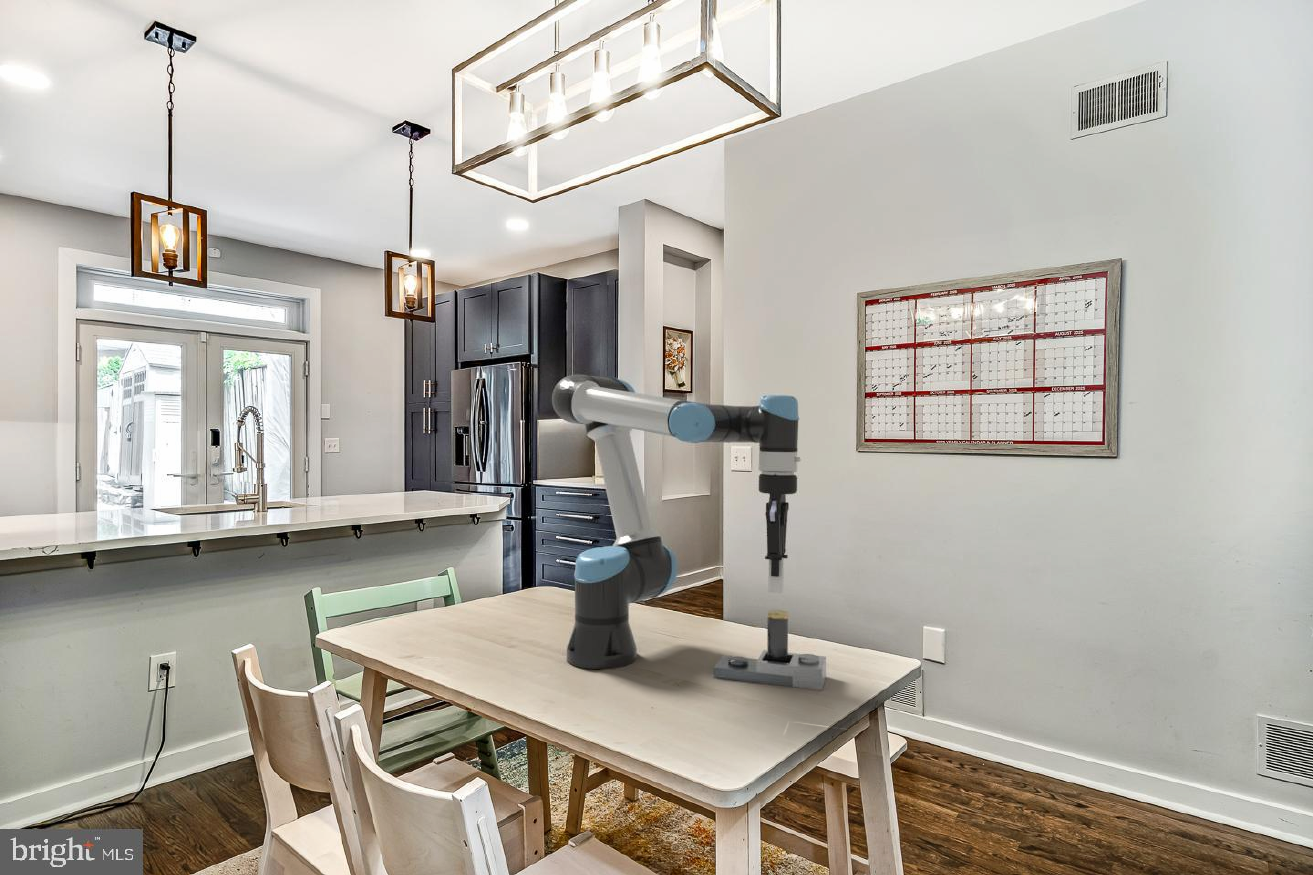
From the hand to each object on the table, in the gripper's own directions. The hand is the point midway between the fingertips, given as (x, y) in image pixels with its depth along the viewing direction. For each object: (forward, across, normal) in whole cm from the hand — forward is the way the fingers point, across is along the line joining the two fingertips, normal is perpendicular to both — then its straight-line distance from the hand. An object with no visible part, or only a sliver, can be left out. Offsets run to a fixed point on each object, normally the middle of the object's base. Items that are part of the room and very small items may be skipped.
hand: (775, 591), depth 136 cm
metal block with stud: (+17, 0, +1) cm, 17 cm away
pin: (+17, 0, -1) cm, 17 cm away
